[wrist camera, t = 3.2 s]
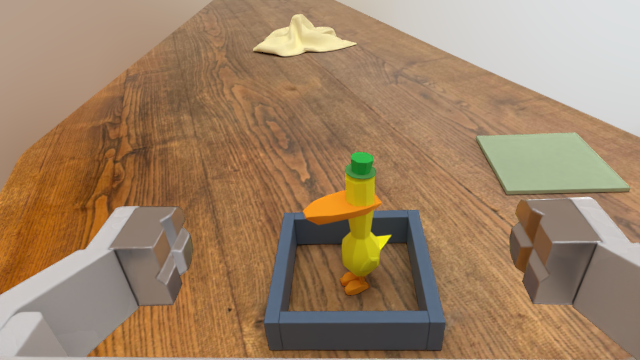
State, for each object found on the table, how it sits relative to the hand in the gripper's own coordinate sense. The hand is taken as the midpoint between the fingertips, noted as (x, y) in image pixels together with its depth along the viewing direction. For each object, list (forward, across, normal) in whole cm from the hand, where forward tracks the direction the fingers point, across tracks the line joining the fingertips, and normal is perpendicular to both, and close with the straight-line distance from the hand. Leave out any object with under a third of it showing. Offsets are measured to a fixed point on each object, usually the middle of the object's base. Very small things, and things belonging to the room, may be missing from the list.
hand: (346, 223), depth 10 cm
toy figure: (+16, 0, +20) cm, 26 cm away
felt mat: (+34, -22, +20) cm, 45 cm away
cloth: (+87, +9, +20) cm, 90 cm away
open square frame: (+16, 0, +20) cm, 25 cm away
